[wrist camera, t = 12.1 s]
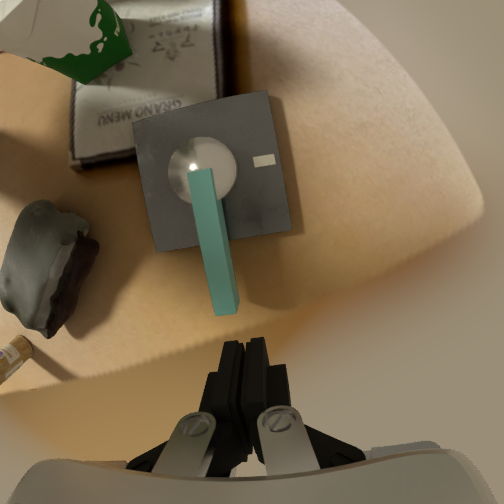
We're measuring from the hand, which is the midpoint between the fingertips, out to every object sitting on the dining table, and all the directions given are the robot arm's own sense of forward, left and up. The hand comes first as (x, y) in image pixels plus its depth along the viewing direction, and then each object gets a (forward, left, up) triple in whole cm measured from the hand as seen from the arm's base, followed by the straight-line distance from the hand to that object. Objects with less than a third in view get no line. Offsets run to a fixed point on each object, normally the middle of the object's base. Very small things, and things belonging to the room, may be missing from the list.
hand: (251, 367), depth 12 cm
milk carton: (-28, -14, -19) cm, 37 cm away
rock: (-3, -25, -20) cm, 32 cm away
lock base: (-9, -3, -19) cm, 22 cm away
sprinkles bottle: (+10, -42, -19) cm, 48 cm away
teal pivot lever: (-4, -4, -17) cm, 18 cm away
